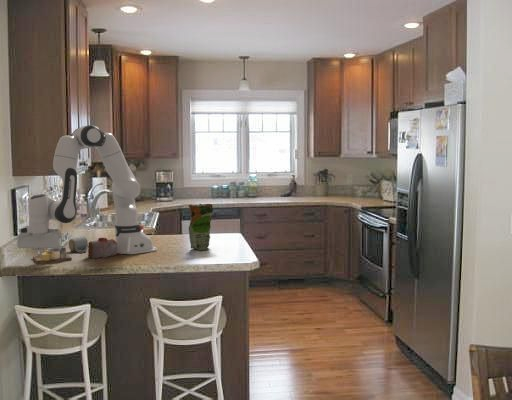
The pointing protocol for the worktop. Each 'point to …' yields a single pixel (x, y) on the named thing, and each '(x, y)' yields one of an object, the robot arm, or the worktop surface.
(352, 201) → the worktop surface
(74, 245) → the ceramic mug
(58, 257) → the base
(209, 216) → the pouch
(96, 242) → the small brown suitcase
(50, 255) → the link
